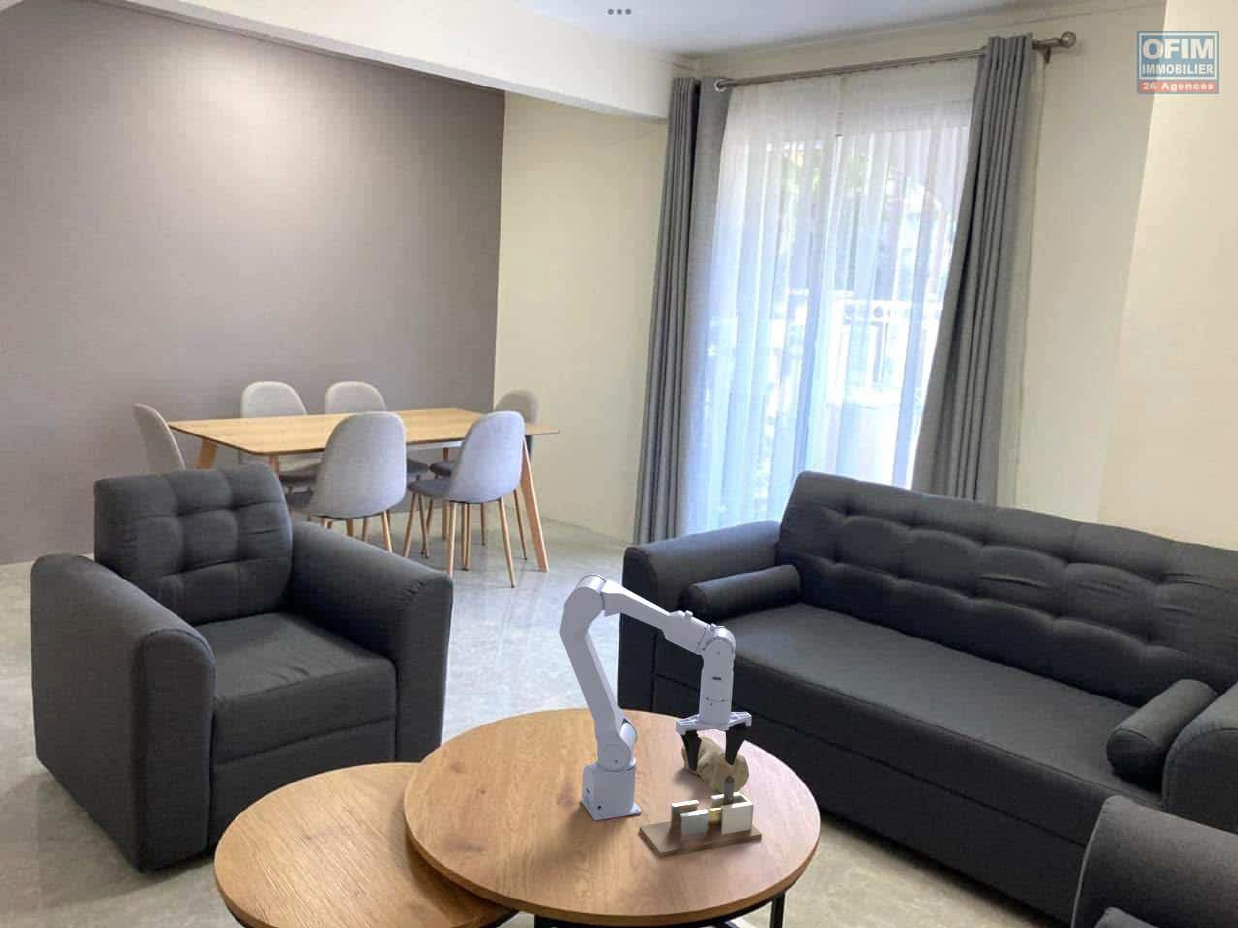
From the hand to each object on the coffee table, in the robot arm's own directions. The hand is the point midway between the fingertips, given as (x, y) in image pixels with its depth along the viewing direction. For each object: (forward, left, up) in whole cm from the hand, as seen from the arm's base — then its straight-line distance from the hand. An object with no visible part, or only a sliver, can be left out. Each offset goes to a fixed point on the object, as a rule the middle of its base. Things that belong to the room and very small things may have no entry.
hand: (711, 765), depth 183 cm
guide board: (-4, -5, -10) cm, 12 cm away
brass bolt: (-1, -5, -9) cm, 10 cm away
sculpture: (+7, +13, -11) cm, 18 cm away
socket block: (+2, -5, -10) cm, 12 cm away
